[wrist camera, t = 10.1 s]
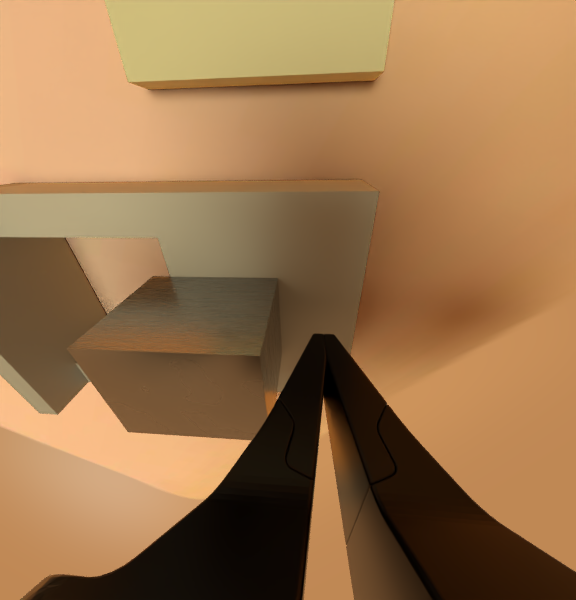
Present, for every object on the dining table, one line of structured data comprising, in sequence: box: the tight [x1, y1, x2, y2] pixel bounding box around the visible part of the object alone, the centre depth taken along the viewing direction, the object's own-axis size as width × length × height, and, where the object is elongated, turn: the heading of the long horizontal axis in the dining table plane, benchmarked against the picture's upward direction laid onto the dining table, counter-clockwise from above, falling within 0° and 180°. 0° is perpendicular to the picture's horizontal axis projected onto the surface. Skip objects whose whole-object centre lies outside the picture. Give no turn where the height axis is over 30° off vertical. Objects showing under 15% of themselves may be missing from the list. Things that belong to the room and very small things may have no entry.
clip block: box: [67, 276, 282, 440], centre depth 9 cm, size 5×4×4 cm
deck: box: [0, 179, 379, 415], centre depth 11 cm, size 16×10×5 cm, turn 91°
